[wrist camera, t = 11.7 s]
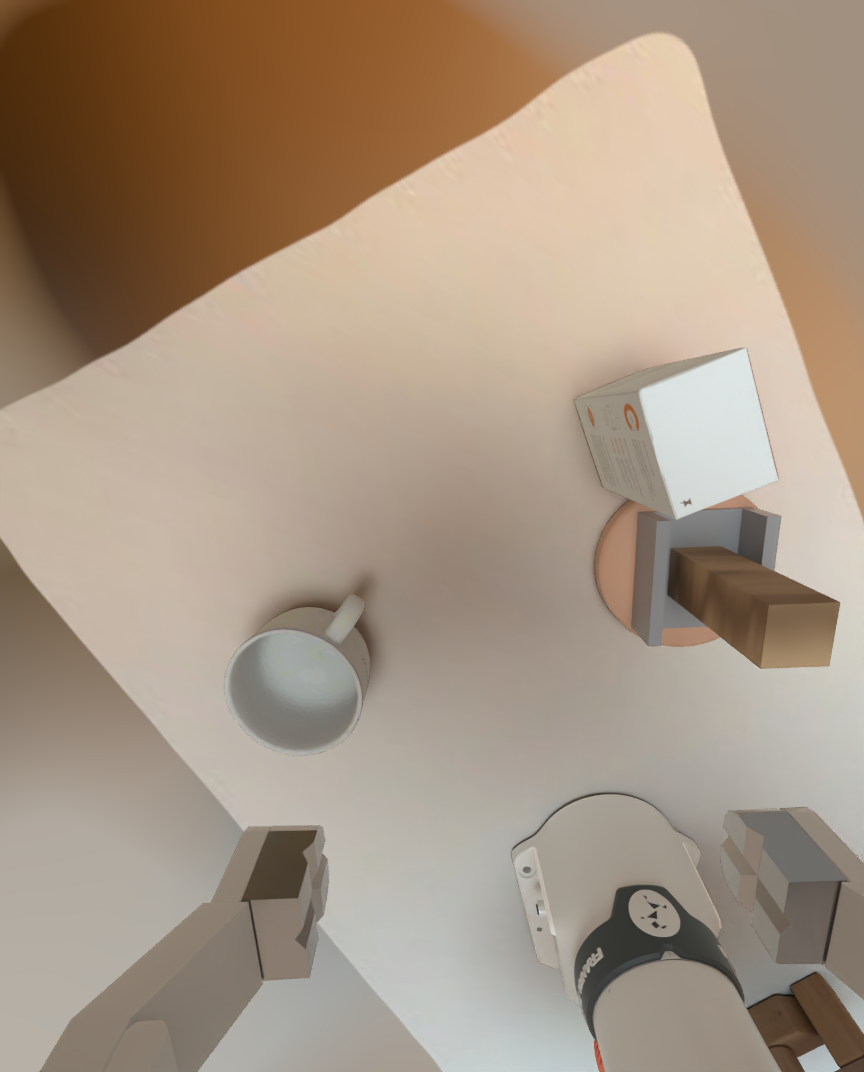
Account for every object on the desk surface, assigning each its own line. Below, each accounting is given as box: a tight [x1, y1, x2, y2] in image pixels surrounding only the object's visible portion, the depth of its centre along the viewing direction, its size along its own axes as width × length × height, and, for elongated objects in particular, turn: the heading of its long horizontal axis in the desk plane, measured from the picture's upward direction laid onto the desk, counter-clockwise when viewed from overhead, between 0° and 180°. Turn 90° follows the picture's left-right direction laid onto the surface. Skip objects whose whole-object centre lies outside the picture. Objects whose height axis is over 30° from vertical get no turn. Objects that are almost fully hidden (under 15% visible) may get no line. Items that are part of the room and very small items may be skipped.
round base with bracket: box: [594, 495, 781, 647], centre depth 40 cm, size 14×14×6 cm
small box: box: [574, 348, 779, 520], centre depth 34 cm, size 8×6×13 cm
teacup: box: [224, 594, 370, 756], centre depth 41 cm, size 14×11×8 cm
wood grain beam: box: [667, 546, 840, 669], centre depth 34 cm, size 4×4×12 cm
